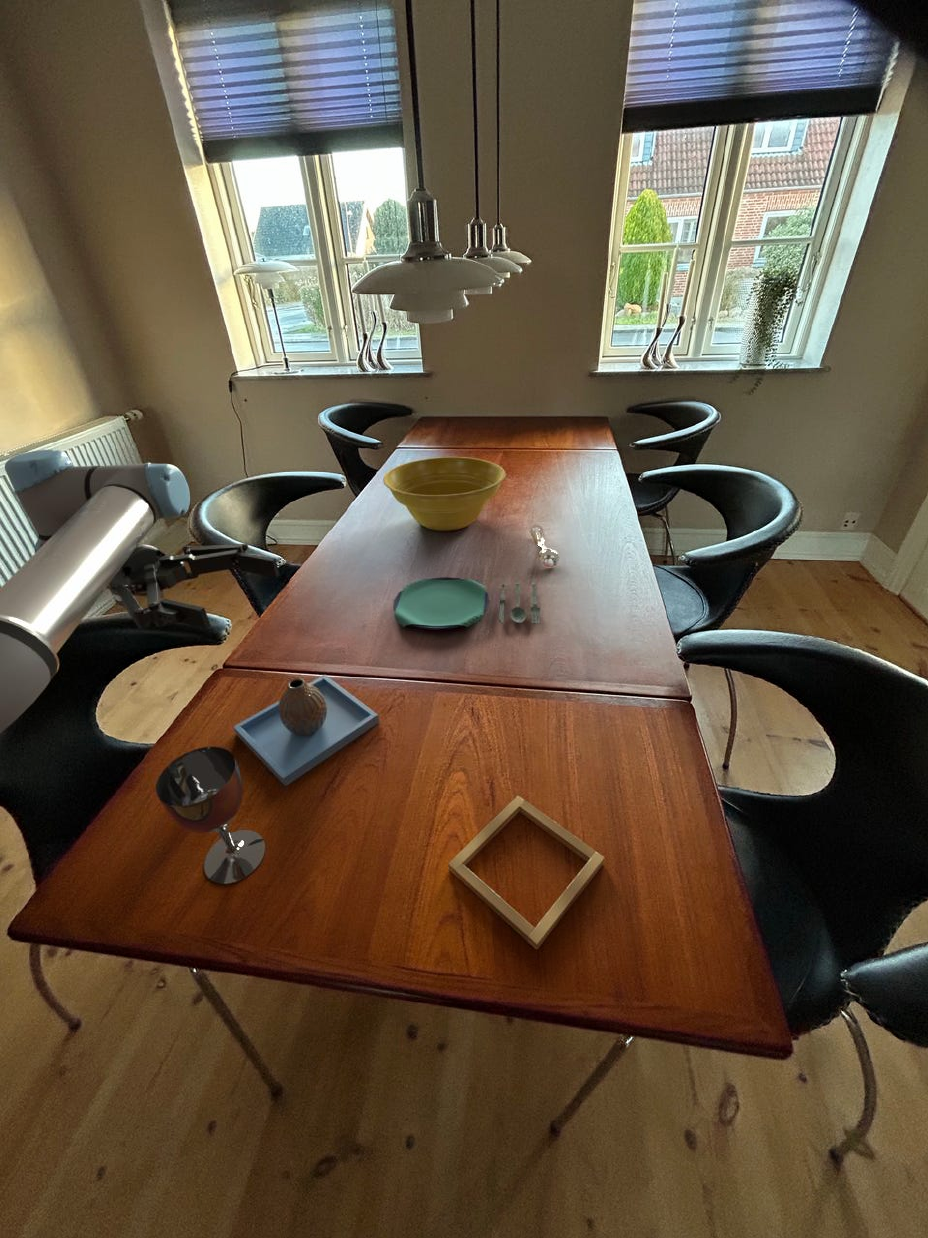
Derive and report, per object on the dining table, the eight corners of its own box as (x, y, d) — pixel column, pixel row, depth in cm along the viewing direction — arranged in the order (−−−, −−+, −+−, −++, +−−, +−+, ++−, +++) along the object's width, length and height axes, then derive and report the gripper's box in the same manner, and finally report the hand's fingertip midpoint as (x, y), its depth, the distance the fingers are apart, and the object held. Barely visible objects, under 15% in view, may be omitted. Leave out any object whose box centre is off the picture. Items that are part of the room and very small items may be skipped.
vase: (301, 706, 86) (289, 664, 81) (338, 715, 84) (329, 673, 79) (275, 736, 80) (261, 693, 76) (314, 747, 78) (302, 703, 74)
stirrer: (526, 518, 137) (544, 517, 137) (526, 530, 139) (544, 529, 139) (541, 558, 121) (561, 556, 121) (540, 571, 123) (560, 570, 123)
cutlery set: (402, 584, 119) (401, 575, 117) (537, 585, 116) (537, 575, 115) (385, 635, 102) (384, 626, 101) (541, 638, 100) (542, 628, 99)
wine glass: (185, 876, 63) (137, 795, 54) (229, 820, 69) (193, 740, 61) (241, 896, 61) (200, 814, 52) (281, 836, 67) (251, 755, 58)
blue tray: (285, 786, 73) (282, 778, 72) (236, 734, 82) (233, 726, 81) (379, 722, 83) (378, 714, 82) (326, 681, 92) (324, 674, 91)
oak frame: (536, 950, 55) (537, 945, 54) (448, 869, 62) (447, 864, 62) (603, 863, 62) (604, 857, 62) (517, 801, 70) (518, 795, 69)
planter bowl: (405, 498, 163) (400, 454, 155) (510, 501, 158) (510, 456, 150) (373, 544, 136) (366, 494, 129) (498, 549, 131) (498, 497, 124)
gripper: (200, 553, 89) (305, 572, 82) (58, 635, 70) (179, 669, 63) (185, 511, 85) (294, 528, 78) (31, 586, 66) (157, 617, 59)
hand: (243, 591), depth 71 cm, fingers open, 13 cm apart
